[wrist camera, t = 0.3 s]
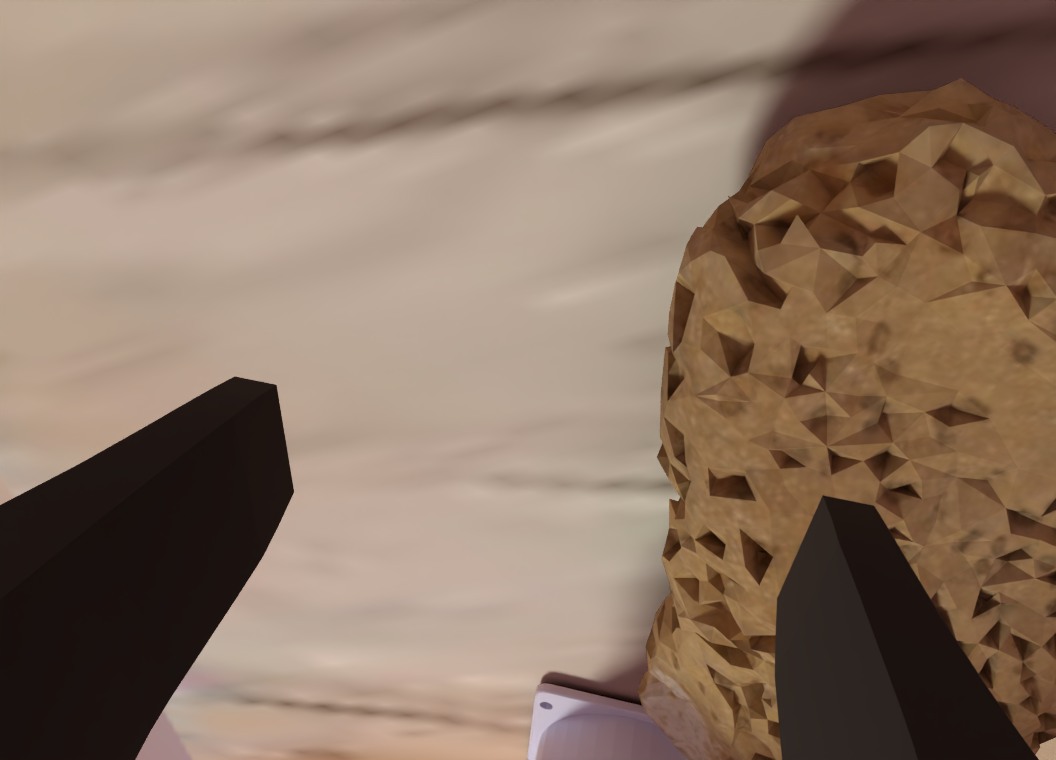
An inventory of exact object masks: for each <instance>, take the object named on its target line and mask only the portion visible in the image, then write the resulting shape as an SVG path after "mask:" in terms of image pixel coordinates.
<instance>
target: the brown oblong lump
mask: <svg viewBox="0 0 1056 760" xmlns="http://www.w3.org/2000/svg"><path fill="white" fill-rule="evenodd" d="M728 197H729V196H728ZM668 337H669V341H670V345H671V346H670V347H665V357H664V367H663V377H662V387H661V415H660V437H661V440H662V446H661V448H660V451H659V453H658V456H657V458H658V460H659V462H660V464H661V466H662V468H663V469H664V471H665V473H666V475H667V477H668V478H669V480H670V481H671V483H672V484H673V486H674V487H675V489H676V490H677V492H678V494H679V495H680V499H679V501H675V500H672V499H669V532H668V536H667V540H666V544H665V548H664V552H663V555H662V561H663V564H664V567H665V570H666V573H667V576H668V579H669V582H670V590H671V593H670V594H669V596H668V597H667V598H666V599H665V600H664V602H663V603H662V605H661V606H660V608H659V609H658V611H657V613H656V615H655V619H654V623H653V627H652V630H651V633H650V636H649V638H648V641H647V644H646V651H647V662H648V671H647V672H645V673H644V675H643V678H642V680H641V683H640V685H639V687H638V690H637V691H638V694H639V697H640V701H641V704H642V707H643V710H644V712H645V713H646V714H647V715H648V716H649V717H650V719H651V720H652V721H653V722H654V723H655V724H656V725H657V726H658V728H659V729H660V730H661V731H662V732H663V733H664V734H665V735H666V736H667V738H668V739H669V740H670V741H671V743H672V744H673V745H674V747H675V748H676V749H677V750H678V751H679V752H680V753H681V754H682V755H683V756H684V757H685V758H687V759H688V760H782V754H781V743H780V732H779V721H778V709H777V698H776V686H775V636H776V611H777V597H778V595H779V593H780V591H781V588H782V586H783V584H784V582H785V579H786V577H787V575H788V573H789V570H790V568H791V566H792V563H793V561H794V559H795V557H796V554H797V552H798V550H799V548H800V545H801V543H802V541H803V539H804V536H805V534H806V532H807V530H808V527H809V525H810V523H811V521H812V518H813V516H814V514H815V512H816V509H817V507H818V505H819V502H820V500H821V498H822V496H823V495H824V496H829V497H834V498H839V499H844V500H849V501H854V502H859V503H864V504H868V505H873V506H875V508H876V509H877V511H878V512H879V514H880V516H881V517H882V519H883V520H884V522H885V524H886V525H887V527H888V529H889V530H890V532H891V534H892V535H893V537H894V539H895V540H896V542H897V544H898V545H899V547H900V549H901V551H902V552H903V554H904V556H905V557H906V559H907V561H908V562H909V564H910V566H911V567H912V569H913V571H914V572H915V574H916V576H917V577H918V579H919V581H920V582H921V584H922V585H923V587H924V589H925V590H926V592H927V594H928V595H929V597H930V599H931V600H932V602H933V603H934V605H935V607H936V608H937V610H938V612H939V613H940V615H941V616H942V618H943V620H944V621H945V623H946V624H947V626H948V628H949V629H950V631H951V632H952V634H953V635H954V637H955V638H956V640H957V641H958V643H959V644H960V646H961V648H962V649H963V651H964V652H965V654H966V655H967V657H968V658H969V660H970V661H971V663H972V664H973V666H974V667H975V669H976V670H977V672H978V674H979V675H980V677H981V678H982V680H983V681H984V683H985V684H986V686H987V687H988V689H989V690H990V692H991V693H992V694H993V696H994V697H995V699H996V700H997V702H998V703H999V705H1000V706H1001V708H1002V709H1003V711H1004V712H1005V713H1006V715H1007V716H1008V718H1009V719H1010V721H1011V722H1012V723H1013V725H1014V726H1015V728H1016V729H1017V730H1018V732H1019V733H1020V735H1021V736H1022V737H1023V739H1024V740H1025V741H1026V743H1027V744H1028V746H1029V747H1030V748H1031V750H1032V751H1033V753H1034V754H1036V753H1037V751H1038V750H1039V748H1040V745H1039V744H1041V743H1044V742H1046V741H1048V740H1051V739H1053V738H1055V737H1056V134H1055V133H1054V132H1052V131H1051V130H1050V129H1048V128H1047V127H1045V126H1044V125H1042V124H1041V123H1039V122H1038V121H1036V120H1035V119H1033V118H1032V117H1030V116H1028V115H1027V114H1025V113H1023V112H1022V111H1020V110H1019V109H1017V108H1015V107H1014V106H1012V105H1009V104H1006V103H1003V102H1001V101H998V100H995V99H992V98H991V97H989V96H988V95H986V94H985V93H983V92H982V91H980V90H979V89H977V88H976V87H974V86H973V85H971V84H970V83H968V82H967V81H965V80H964V79H962V78H960V79H958V80H955V81H953V82H951V83H948V84H946V85H944V86H941V87H939V88H937V89H934V90H928V91H917V92H905V93H894V94H882V95H877V96H874V97H871V98H867V99H864V100H861V101H857V102H854V103H851V104H847V105H844V106H840V107H836V108H831V109H827V110H823V111H818V112H814V113H810V114H805V115H801V116H797V117H794V118H793V119H792V120H791V121H789V122H788V123H787V124H786V125H785V126H783V127H782V128H781V129H780V130H779V131H778V132H776V133H775V134H774V135H773V136H772V137H771V138H769V139H768V140H767V141H766V143H765V145H764V147H763V149H762V151H761V153H760V155H759V157H758V159H757V161H756V163H755V165H754V167H753V169H752V171H751V173H750V175H749V177H748V179H747V180H746V182H745V183H744V185H743V186H742V188H741V189H740V191H739V192H738V193H736V194H735V195H733V196H732V197H729V199H728V200H727V201H725V202H724V203H723V204H721V205H720V206H718V208H717V209H716V210H715V212H714V213H713V214H712V216H711V217H710V218H709V219H708V221H707V222H706V223H705V225H704V227H703V228H702V227H697V228H696V230H695V231H694V233H693V235H692V236H691V238H690V240H689V241H688V243H687V246H686V249H685V253H684V256H683V260H682V263H681V266H680V270H679V273H678V277H677V280H676V283H675V288H674V293H673V297H672V302H671V307H670V312H669V325H668Z"/></svg>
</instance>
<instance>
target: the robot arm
mask: <svg viewBox="0 0 1056 760" xmlns="http://www.w3.org/2000/svg"><path fill="white" fill-rule="evenodd" d="M293 493H294V489H293V483H292V477H291V471H290V465H289V459H288V453H287V447H286V440H285V434H284V428H283V422H282V416H281V410H280V404H279V398H278V392H277V386H276V385H274V384H269V383H264V382H259V381H254V380H249V379H244V378H239V377H233V378H231V379H229V380H227V381H225V382H224V383H222V384H220V385H218V386H216V387H214V388H212V389H210V390H209V391H207V392H205V393H203V394H202V395H200V396H198V397H196V398H194V399H193V400H191V401H189V402H188V403H186V404H184V405H182V406H181V407H179V408H177V409H175V410H174V411H172V412H170V413H168V414H167V415H165V416H163V417H162V418H160V419H158V420H156V421H155V422H153V423H151V424H149V425H148V426H146V427H144V428H142V429H141V430H139V431H137V432H135V433H134V434H132V435H130V436H128V437H127V438H125V439H123V440H121V441H119V442H118V443H116V444H114V445H112V446H111V447H109V448H107V449H105V450H104V451H102V452H100V453H98V454H96V455H95V456H93V457H91V458H89V459H88V460H86V461H84V462H82V463H80V464H79V465H77V466H75V467H73V468H71V469H69V470H67V471H65V472H63V473H61V474H59V475H57V476H56V477H54V478H52V479H50V480H48V481H46V482H44V483H42V484H40V485H38V486H36V487H34V488H32V489H30V490H29V491H27V492H25V493H23V494H21V495H19V496H17V497H15V498H13V499H11V500H9V501H7V502H5V503H4V504H2V505H0V760H135V759H136V757H137V755H138V753H139V751H140V750H141V748H142V746H143V744H144V742H145V740H146V738H147V736H148V735H149V733H150V731H151V729H152V728H153V726H154V724H155V723H156V721H157V719H158V718H159V716H160V714H161V713H162V711H163V709H164V708H165V706H166V704H167V703H168V701H169V700H170V698H171V696H172V695H173V693H174V692H175V690H176V689H177V687H178V686H179V684H180V683H181V681H182V680H183V678H184V677H185V675H186V674H187V672H188V671H189V669H190V668H191V666H192V665H193V663H194V661H195V660H196V658H197V657H198V655H199V654H200V652H201V651H202V649H203V648H204V646H205V645H206V643H207V642H208V640H209V639H210V637H211V636H212V634H213V633H214V631H215V630H216V628H217V627H218V625H219V624H220V622H221V621H222V619H223V618H224V616H225V614H226V613H227V611H228V610H229V608H230V607H231V605H232V604H233V602H234V601H235V599H236V598H237V596H238V595H239V593H240V591H241V590H242V588H243V587H244V585H245V584H246V582H247V581H248V579H249V578H250V576H251V574H252V573H253V571H254V570H255V568H256V567H257V565H258V563H259V562H260V560H261V559H262V557H263V555H264V553H265V551H266V549H267V547H268V545H269V543H270V541H271V539H272V537H273V536H274V534H275V532H276V530H277V528H278V525H279V523H280V521H281V519H282V517H283V515H284V512H285V510H286V508H287V506H288V504H289V502H290V500H291V497H292V495H293ZM775 686H776V698H777V709H778V721H779V732H780V743H781V754H782V760H1038V758H1037V757H1036V755H1035V754H1034V753H1033V751H1032V750H1031V748H1030V747H1029V746H1028V744H1027V743H1026V741H1025V740H1024V739H1023V737H1022V736H1021V735H1020V733H1019V732H1018V730H1017V729H1016V728H1015V726H1014V725H1013V723H1012V722H1011V721H1010V719H1009V718H1008V716H1007V715H1006V713H1005V712H1004V711H1003V709H1002V708H1001V706H1000V705H999V703H998V702H997V700H996V699H995V697H994V696H993V694H992V693H991V692H990V690H989V689H988V687H987V686H986V684H985V683H984V681H983V680H982V678H981V677H980V675H979V674H978V672H977V670H976V669H975V667H974V666H973V664H972V663H971V661H970V660H969V658H968V657H967V655H966V654H965V652H964V651H963V649H962V648H961V646H960V644H959V643H958V641H957V640H956V638H955V637H954V635H953V634H952V632H951V631H950V629H949V628H948V626H947V624H946V623H945V621H944V620H943V618H942V616H941V615H940V613H939V612H938V610H937V608H936V607H935V605H934V603H933V602H932V600H931V599H930V597H929V595H928V594H927V592H926V590H925V589H924V587H923V585H922V584H921V582H920V581H919V579H918V577H917V576H916V574H915V572H914V571H913V569H912V567H911V566H910V564H909V562H908V561H907V559H906V557H905V556H904V554H903V552H902V551H901V549H900V547H899V545H898V544H897V542H896V540H895V539H894V537H893V535H892V534H891V532H890V530H889V529H888V527H887V525H886V524H885V522H884V520H883V519H882V517H881V516H880V514H879V512H878V511H877V509H876V508H875V506H873V505H868V504H864V503H859V502H854V501H849V500H844V499H839V498H834V497H829V496H824V495H823V496H822V498H821V500H820V502H819V505H818V507H817V509H816V512H815V514H814V516H813V518H812V521H811V523H810V525H809V527H808V530H807V532H806V534H805V536H804V539H803V541H802V543H801V545H800V548H799V550H798V552H797V554H796V557H795V559H794V561H793V563H792V566H791V568H790V570H789V573H788V575H787V577H786V579H785V582H784V584H783V586H782V588H781V591H780V593H779V595H778V597H777V611H776V636H775ZM527 760H688V759H687V758H685V757H684V756H683V755H682V754H681V753H680V752H679V751H678V750H677V749H676V748H675V747H674V745H673V744H672V743H671V741H670V740H669V739H668V738H667V736H666V735H665V734H664V733H663V732H662V731H661V730H660V729H659V728H658V726H657V725H656V724H655V723H654V722H653V721H652V720H651V719H650V717H649V716H648V715H647V714H646V713H645V712H644V710H643V707H642V705H637V704H633V703H629V702H625V701H620V700H616V699H612V698H608V697H604V696H599V695H595V694H591V693H587V692H582V691H578V690H574V689H570V688H566V687H561V686H557V685H553V684H547V683H544V684H540V685H538V686H537V689H536V693H535V700H534V708H533V716H532V724H531V732H530V740H529V749H528V757H527Z"/></svg>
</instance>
